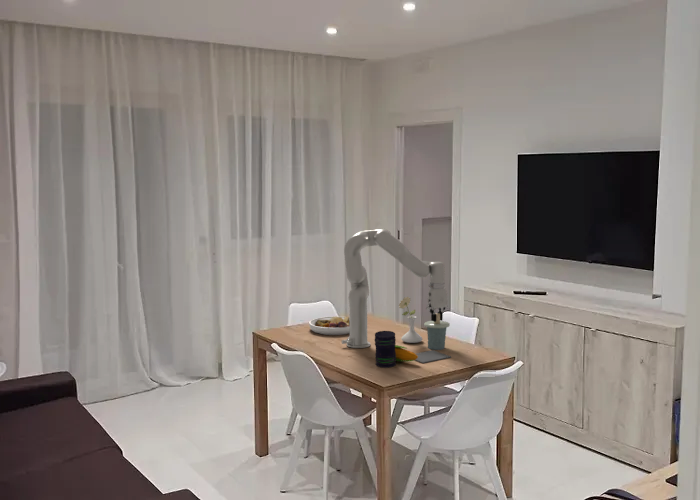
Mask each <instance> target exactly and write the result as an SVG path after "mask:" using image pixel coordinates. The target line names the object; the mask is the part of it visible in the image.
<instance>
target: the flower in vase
mask: <svg viewBox="0 0 700 500" xmlns="http://www.w3.org/2000/svg"><path fill="white" fill-rule="evenodd" d="M410 303H411V297H409V296H406V297H404V298H403V299H402V300H400V302H399V303H398V306H399V309H405V308H406V309H407V311H405V312H403V313H402V314H401V315H402V316H407V319H408V321H409V330H408V331H407V332H406V333H405V334H403V335H402V336H401V341H402V342H404V343H408V344H416V343H420V342H422V341H423V337H422V336H421V335H420V334H419V333H418V332H417V331H416V330H415V321H416V319H417V316H416V315H414V314H416V309H413V310H411V311H409V307H408V306H409V305H410Z"/></svg>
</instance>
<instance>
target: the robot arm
mask: <svg viewBox="0 0 700 500" xmlns="http://www.w3.org/2000/svg"><path fill="white" fill-rule="evenodd" d="M374 246H378V247H379V248H381V249H382V250H384V251H385V252H386V253H387V254H389V255H390V256H392V257H393V258H394V259H395V260H396V261H397V262H399V264H401V265H402V266H404V268H406V269H407V270H409V271H410V272H411V273H412V274H414V275H415V276H416V277H419V278H420V279H421V278H426V277H428V276H429V284H428V287H429V289H428V292H427V305H426V308H425V310H427V311H428V312H429V313H430V314H431V315H430V316H431V317H430V319H431V320H430V321H434V322H436V314H435V313H439V314H440V321H443V316H444V315H443V314H444V312H445V310H446V309H447V308H448V293H447V288H446V287H445V285H446V284H445V283H446V282H445V281H446V280H445V277H446V276H445V275H446V273H445V272H446V270H445V269H446V265H445V263H444V262H442V261H429V260H421V259H419V258H418V257H417V256H415V255H414V254H413V253H412V251H410V249H409V247H408V246H407V245H406V244H404V243H403V242H402V241H400V240H399V239H398V238H396V237H395V236H393V235H392V234H391V232H390V231H389V230H388V229H386V228H381V229H380V228H379V229H373V230H372V229H371V230H370V229H369V230H361V231H358V232H356V233H355V234H354V235H352V236H351V237H349V238H348V240H346V243H345V245H344V249H343V254H344V263H345V271H346V279H347V281H348V282H349V283H350V288H351V289H350V290H349V293H348V298H347V301H348V317H349V334H348V335H349V336H347V338H346V339H342V340H341V344H342V345H344V344H346V346H347V347H348V348H351V349H352V348H353V349H364V348H365V349H366V348H369V347H370V346H371V342H370V341H368V299H369V298H368V297H369V296H370V289H369V281H368V273H367V270H366V268H365V266H364V265H363V263H362V256H361V251H362V250H363V249H365V248H366V247H374ZM437 309H438V311H437V312H436V310H437Z"/></svg>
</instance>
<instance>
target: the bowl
mask: <svg viewBox="0 0 700 500" xmlns="http://www.w3.org/2000/svg"><path fill="white" fill-rule="evenodd" d="M308 325H309V328H310V330H311V331H312V332H314V333H316V334H319V335H325V336H340V335H341V336H343V335H349V316H337V315H336V316H323V317H317V318H314V319H312V320H309V322H308Z"/></svg>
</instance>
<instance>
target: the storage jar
mask: <svg viewBox="0 0 700 500" xmlns="http://www.w3.org/2000/svg"><path fill="white" fill-rule="evenodd" d="M396 344H397V343H396V333H395V332H394V331H391V330H380V331H377V332H375V333H374V345H375V353H374V355H375V365H376V367H379V368H383V369H384V368H385V369H386V368H387V369H388V368H392V367H395V366H396V365H397V361H396V352H395V345H396Z"/></svg>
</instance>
